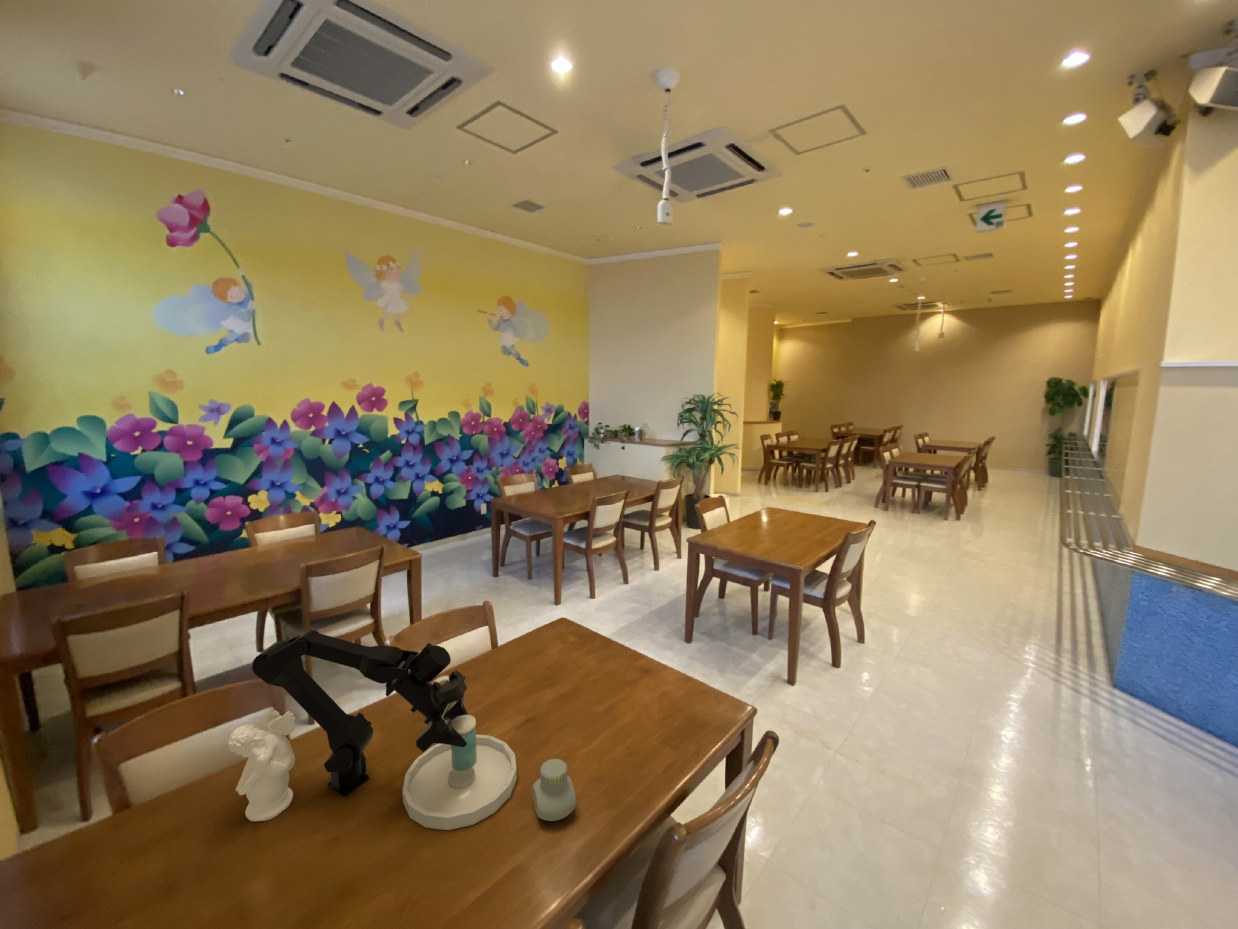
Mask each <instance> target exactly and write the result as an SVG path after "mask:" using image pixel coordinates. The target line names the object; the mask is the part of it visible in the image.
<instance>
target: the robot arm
mask: <svg viewBox="0 0 1238 929" xmlns="http://www.w3.org/2000/svg"><path fill="white" fill-rule="evenodd" d="M303 656H309V657H312V658H314V659H315V658H316V659H320V660H322V661H327V662H330V663H334V664H338V665H341V666H345V667H349V668H353V669H355V670H357V671H359V672H360V673H361V675H363V677H364V678H366V679H368V680H370V681H372V682H375V683H377V684H382V685H383V684H385V688H386V689H385V697H390V695H391V694H393V692H394V691H395V692H396V693H397V694H398V695H399V697H401V698H403V700H405V701H406V702H407V703H408V704H409V705H411V706H412V707H411V708H410V712H412V713H416V711H417V712H419V713H420V714H421V715H422V716H423V717H424V718H425V719H424V721H423V723H424V724H426V726H425V727H424V728H423V729H422V730H421V732H420V734H419V735H418V737H417V739H416V741H415V744H416V745H415V746H416V747H417V749H418V750H419V751H421V753H424V752H426V751H427V750H428V749H429V748H431V747H432V746H433V744H448V745H453V746H459V747H465V746H466V745H467V742H466V741H465V740H464V739H463V738H462V737H461V736H460V734H459V733H458V732H457V731H456V730H455V729H454V728H453V727H452V720H453V719H454V718H456V717H458V716H461V715H469V713H468V711H467V710H466V707H465V705H464V700H465V693H466V691H467V689H468V686H467V684H466V682H465V681H466V678H467V677H466V676H465V675H463V674H462V673H461V672H460V671H458V670H454V671H452V672H450V674H449V675H448V676H449V681H448V680H447V681H445V683H442V684H441V683H438V682H434V680H435V679H436V678H437V676H439V675H440V674H441V672H443V671H444V670H445V669H446V668H447V667H448V666H450V664H451V661H452V660H451V655H450V653H449V651H448V650H447V649H446V648H445V647H443V646H440V645H438V644H437V645H436V644H434V645H433V644H432V643H430V642H428V643H426V644H425V645H424V646H423V648H422V649H421V650H420V651H414V650H408V649H407V650H406V649H401V648H400V647H398V646H392V645H384V644H383V645H382V644H380V645H373V646H369V645H368V646H366V645H363V644H359V643H355V642H351V641H348V640H345V639H341V638H337V637H334V636H330V635H327V634H324V633H320V632H319V631H318V630H316V629H310V630H307V631H305V632H303V633H301V634H298V635H295V636H294V637H291V638H290V639H288V640H277V641H276V642H273V643H272V644H271V645H270V646H269V647H267V648H266V649H264V650H263V651H262V652H260V653H259V654H258V655H256V657H255V658H253V661H252V667H251V670H252V672H253V673H254V675H255V676H256V677H258V678H259V679H260V680H261V681H263V682H264V683H265V684H267V685H271V686H274V687H280V688H282V689H284V690H285V691H286V693H288V694H289V696H290V697H291V698H292V699H293V700H295V702H296V703H297V704H298V705H299V706H300V707H301V708H302V709H303V710H304V711H305V712H306V713H307V714H308V715H309V716H310V717H311V718H312V719H313V721H314V722H316V724H318V725H319V727H321V728H322V729H323V730H324V731H325V733H326V737H327V741H328V746H329V749H330V750H331V751H332V752H331V754H330V756H329V757H328V758H327V759H326V760H325V762H324V764H323V766H324V768H325V770H326V772H327V773H330V781H329V782H328V783H327V787H328V788H329V789H331V790H332V791H334V792H336V793H337V794H339V796H340V795H341V797H346V796H347V795H349V794H350V793H351V792H353V791H354V790H356V789H357V788H358V787H360V786H361V785H362V784H364V783H365V782H366V781H368V780H369V779H370V775H369V774H367V773H366V772H367V760H366V756H365V754H364V751H365V749H366V748H367V746H368V745H369V743H370V742H371V741H372V739H373V737H374V729H373V727H372V722H371V721H370V720H368V719H366V717H365V716H364V714H363V713H361V712H358V713H357V714H356V715H353V714H348V713H346V712H345V711H344V709H342V708H341V707H340V706H339V705H338V704H337V702H335V700H334V699H333V698H332V697H330V695H329V694H328V693H327V692H326V691H325V690H324V689H323V688H322V686H320V685H319V684H318V683H317V682H316V681H315V679H313V677H312V676H311V675H309V673H308V672H307V671H306V670H305V669H304V664H303ZM432 681H433V682H434V683H433V682H432ZM432 683H433V684H432ZM440 715H441V716H440ZM444 716H445V717H447V718H449V719H448V720H449V721H447V720H444V719H443V718H444Z"/></svg>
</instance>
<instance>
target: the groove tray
mask: <svg viewBox="0 0 1238 929" xmlns="http://www.w3.org/2000/svg"><path fill="white" fill-rule="evenodd" d="M476 751H477V762H476V764H475V765H474V766H473V767H472V768H470V769H468V770H465V771H457V770H455V769H453V767H452V758H451V745H448V744H439V743H435V744H434V745H431V746H430V747H429V748H427V749H426V750H425V751H424V752H422V754H420V755H419V756H418V757H417V758H415V760H414V761H413V763H412V764H411V765H410V767H408V770H407V771H406V773H405V774H404V775H405V776H404V780H403V785H402V804H403V807H404V808H405V810H406V812H407V814H408V817H409V819H411V820H413V821H414V822H416V823H417V824H419V825H421V826H422V827H423V828H425V829H426V828H427V829H435V830H444V831H451V830H456V829H459V828H465V827H470V826H473V825H475V824H477V823H479V822H481V821H482V820H484V819H486V818H489V817H490V816H491V815H493V814H495V813H496V812H497V811H498V810H499V809H500V808H501V806H503V805H504V803H506V801H507V800H509V798H510V797H511V795H512V792H513V790H514V787H515V784H516V782H517V776H518V775H517V770H518V769H517V762H516V754H515V752H514V751H513V750H512V749H511V747H510V746H509V744H507V742H505V741H503V740H502V739H499V738H496V737H494V736H493V735H487V734H477V733H476Z"/></svg>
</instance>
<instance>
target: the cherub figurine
mask: <svg viewBox="0 0 1238 929" xmlns="http://www.w3.org/2000/svg"><path fill="white" fill-rule="evenodd" d="M294 714H295V713H294V712H291V711H290V710H287V711H286V712H285V713H284V714H283V715H281V714H280V712H279V711H277V710H276V709H274V710H273V711H272V712H271V714H269V715H268V716H267V718H266V719H265V726H267V728H268V729H266V730H264V729H260V728H259V727H258V726H255V724H254V723H252V724H247V723H245V724H243V725H240V726H237V728H234V730H233V731H232V732H231V734H230V736H229V740H228V741H227V745H228V746H227V747H228V748H229V751H230V752H231V753H235V754H236V755H237V756H242V757H243V758H248V759H247V760H246V763H245V766H244V768H243V770H242V773H241V777H240V779H239V781H238V783H237V785H236V787H235V791H236V792H237V793H238V795H239V796H243V795H246V799H247V800H248V805H247V806H246V809H245V817H246V818H247V820H249V821H250V822H263V821H264V822H265V821H269V820H271V819H273V818H275V817H277V816H278V815H280V814H281V813H282V812H284V811H285V810H286V809H288V807H289V806H290V804H291V803H292V802H293V801H292V800H293V798H294V791H293V789H291V788H290V787H289V782H290V773H289V771H290V770H292V769H293V767H294V765H295V764H296V757H295V754H294V751H293V748H292V746H291V742H290V740H289V739H288V737H287V736H288V735H290V734H291V733H292V732H294V730H295V728H296V717H295V716H294Z"/></svg>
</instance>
